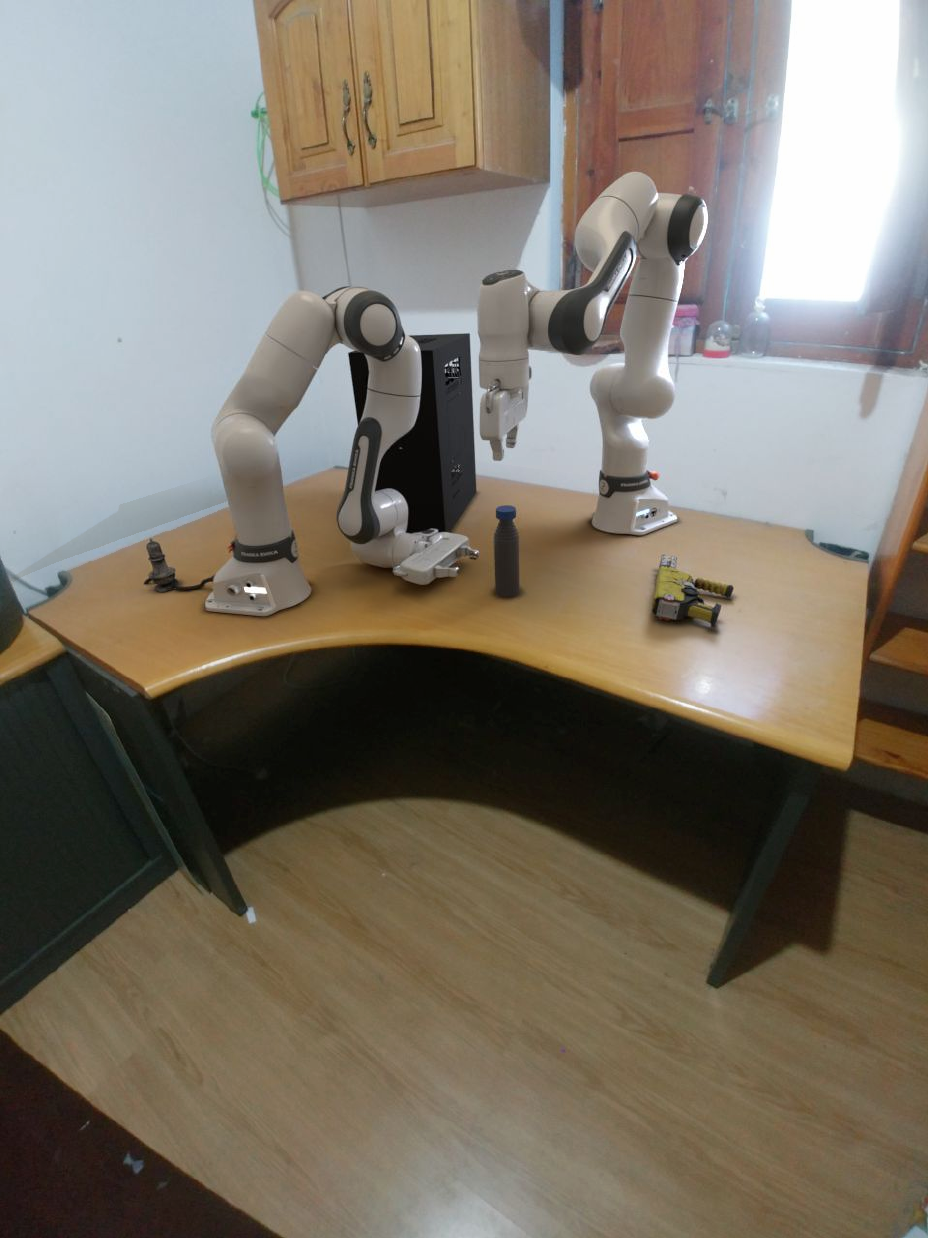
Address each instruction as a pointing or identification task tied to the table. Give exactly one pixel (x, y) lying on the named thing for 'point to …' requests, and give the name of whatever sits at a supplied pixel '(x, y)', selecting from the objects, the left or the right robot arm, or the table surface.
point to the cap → (506, 512)
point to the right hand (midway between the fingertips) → (505, 453)
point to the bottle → (506, 559)
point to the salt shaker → (160, 568)
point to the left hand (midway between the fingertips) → (467, 563)
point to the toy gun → (684, 594)
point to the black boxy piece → (431, 435)
